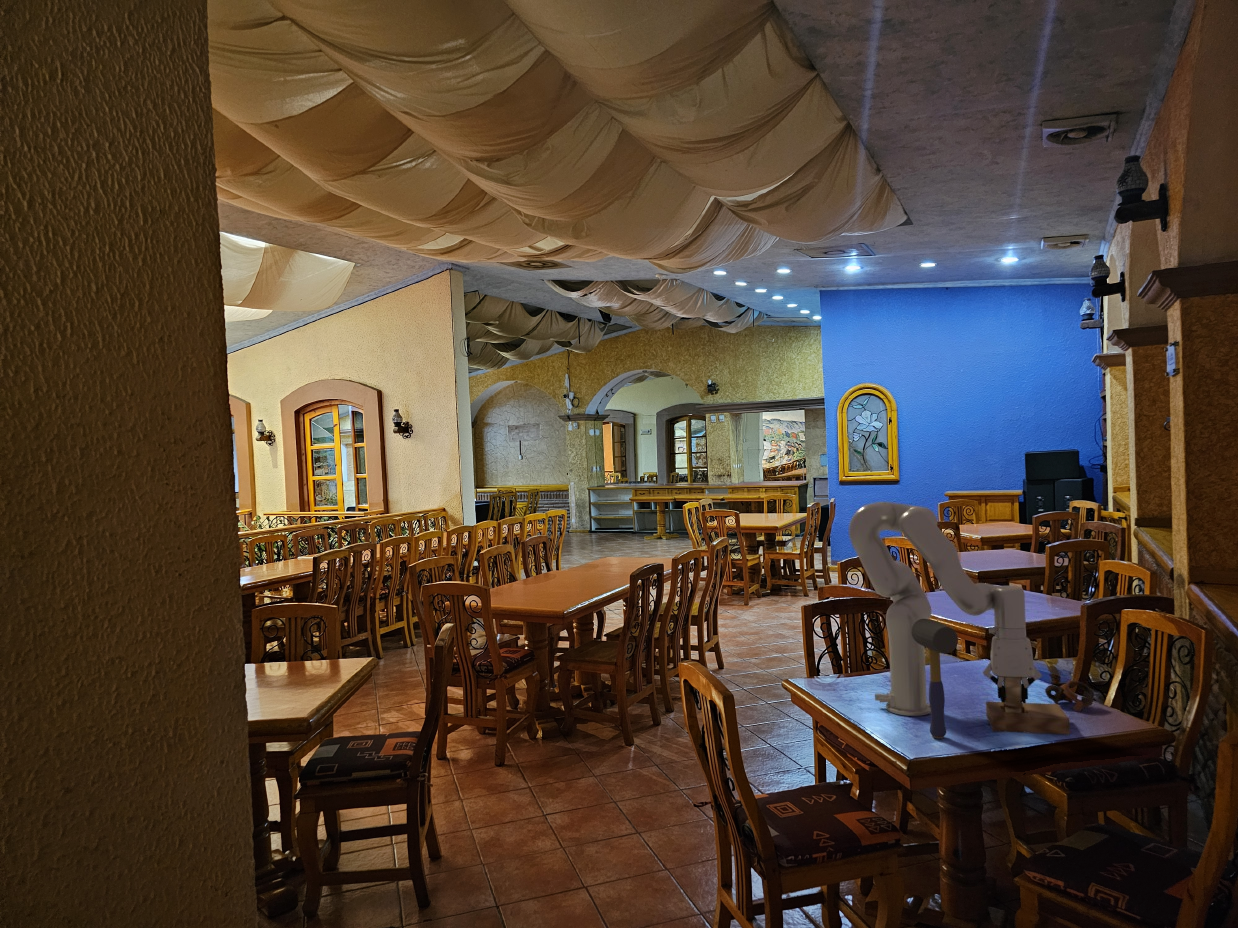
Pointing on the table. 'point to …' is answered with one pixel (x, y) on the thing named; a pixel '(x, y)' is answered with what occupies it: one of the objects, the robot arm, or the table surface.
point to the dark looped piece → (1070, 694)
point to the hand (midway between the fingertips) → (1012, 700)
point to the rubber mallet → (935, 666)
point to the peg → (1013, 694)
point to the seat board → (1028, 718)
